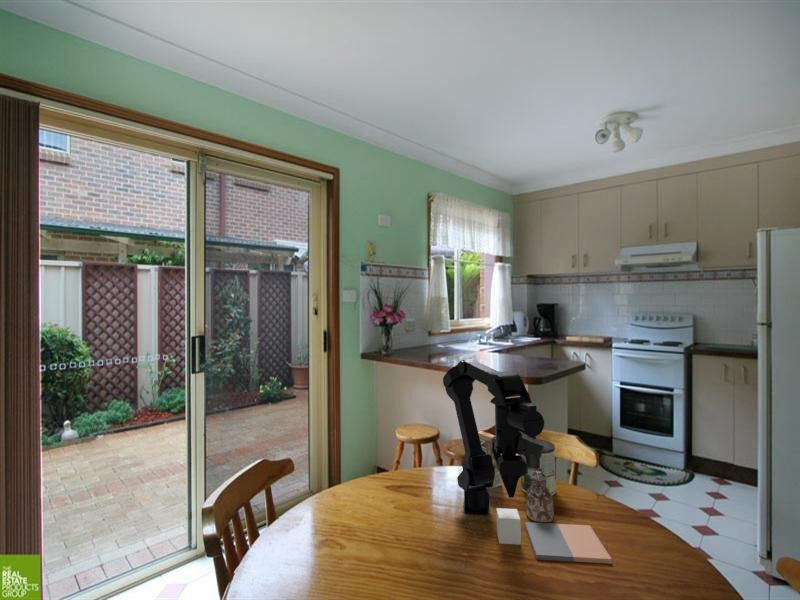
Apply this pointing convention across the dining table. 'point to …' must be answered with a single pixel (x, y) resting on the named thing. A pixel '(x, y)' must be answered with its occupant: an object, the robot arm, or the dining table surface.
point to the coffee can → (545, 463)
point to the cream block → (508, 526)
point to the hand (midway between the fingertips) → (508, 488)
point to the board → (566, 543)
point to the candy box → (486, 446)
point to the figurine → (539, 499)
